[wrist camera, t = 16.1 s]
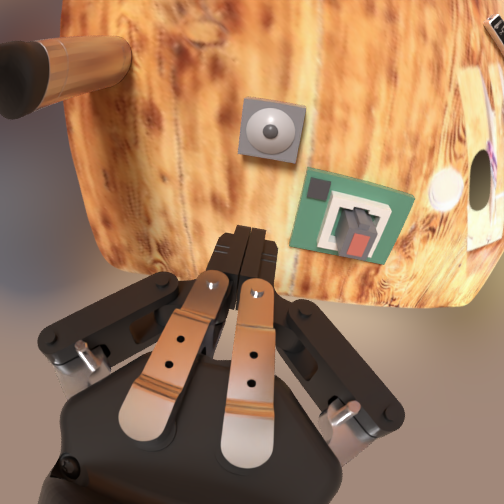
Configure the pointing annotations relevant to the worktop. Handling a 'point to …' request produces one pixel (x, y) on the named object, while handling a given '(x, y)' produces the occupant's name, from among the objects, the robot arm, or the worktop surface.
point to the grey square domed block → (271, 129)
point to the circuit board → (347, 196)
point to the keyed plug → (355, 233)
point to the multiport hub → (496, 30)
